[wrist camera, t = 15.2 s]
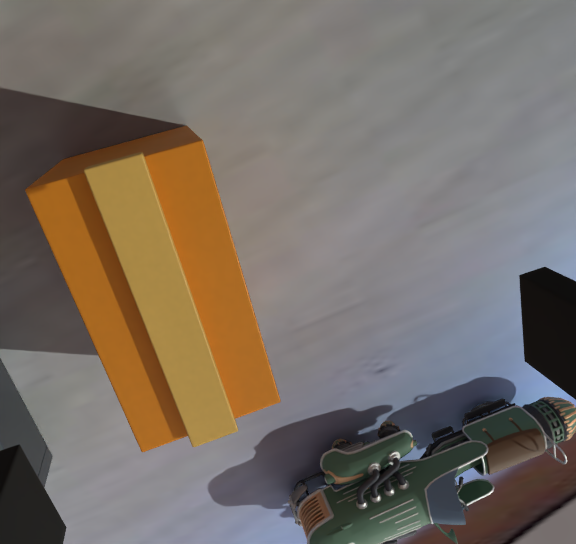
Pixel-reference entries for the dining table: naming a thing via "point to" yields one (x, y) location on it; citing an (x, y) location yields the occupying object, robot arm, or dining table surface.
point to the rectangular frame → (21, 427)
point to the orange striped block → (158, 285)
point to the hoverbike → (424, 473)
